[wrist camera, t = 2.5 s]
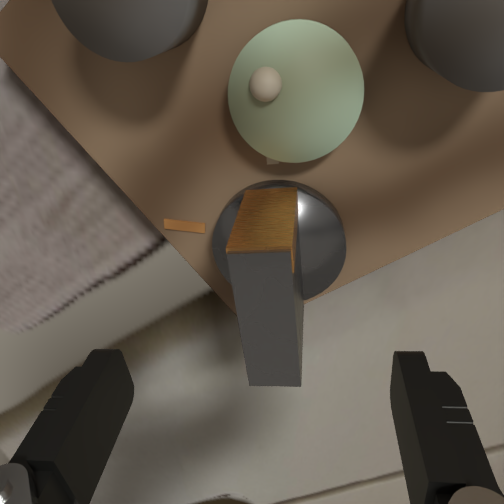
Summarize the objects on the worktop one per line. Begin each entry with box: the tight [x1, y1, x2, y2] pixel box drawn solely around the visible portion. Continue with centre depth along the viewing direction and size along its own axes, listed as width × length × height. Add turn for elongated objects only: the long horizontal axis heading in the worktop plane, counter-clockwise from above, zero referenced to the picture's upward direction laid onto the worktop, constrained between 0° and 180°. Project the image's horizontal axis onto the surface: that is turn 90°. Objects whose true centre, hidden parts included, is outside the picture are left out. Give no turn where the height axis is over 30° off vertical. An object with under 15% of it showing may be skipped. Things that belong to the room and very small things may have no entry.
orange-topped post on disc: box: [212, 180, 346, 387], centre depth 17 cm, size 6×6×6 cm
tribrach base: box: [0, 0, 504, 316], centre depth 16 cm, size 18×18×5 cm
